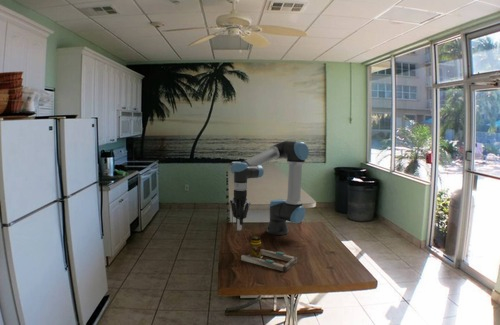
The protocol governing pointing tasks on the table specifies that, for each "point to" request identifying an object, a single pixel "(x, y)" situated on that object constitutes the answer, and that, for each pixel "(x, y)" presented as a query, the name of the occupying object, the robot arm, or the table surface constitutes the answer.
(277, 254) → the rail track
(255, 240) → the condiment
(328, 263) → the table surface
